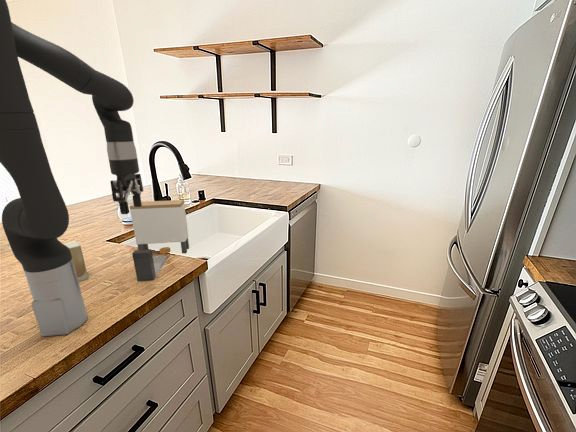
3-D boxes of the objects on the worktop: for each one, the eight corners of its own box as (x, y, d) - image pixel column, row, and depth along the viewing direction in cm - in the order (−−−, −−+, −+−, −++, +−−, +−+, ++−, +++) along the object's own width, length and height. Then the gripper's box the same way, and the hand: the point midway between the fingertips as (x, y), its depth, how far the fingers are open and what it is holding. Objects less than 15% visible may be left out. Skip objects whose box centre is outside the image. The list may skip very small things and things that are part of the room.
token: (169, 254, 116) (168, 250, 115) (158, 254, 115) (158, 251, 115) (171, 250, 119) (171, 246, 119) (161, 250, 119) (161, 247, 118)
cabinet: (186, 253, 115) (180, 204, 109) (138, 256, 113) (129, 206, 107) (189, 247, 121) (183, 199, 115) (144, 249, 119) (135, 201, 113)
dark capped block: (153, 280, 96) (148, 252, 93) (137, 281, 95) (132, 253, 92) (167, 258, 111) (163, 233, 108) (153, 259, 111) (149, 234, 108)
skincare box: (69, 276, 99) (60, 243, 95) (84, 272, 102) (76, 239, 98) (73, 283, 95) (64, 249, 91) (89, 278, 97) (80, 245, 94)
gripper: (124, 159, 80) (133, 216, 85) (146, 155, 94) (153, 204, 98) (96, 160, 80) (107, 217, 85) (122, 155, 94) (130, 204, 98)
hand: (132, 210), depth 92 cm, fingers open, 8 cm apart
